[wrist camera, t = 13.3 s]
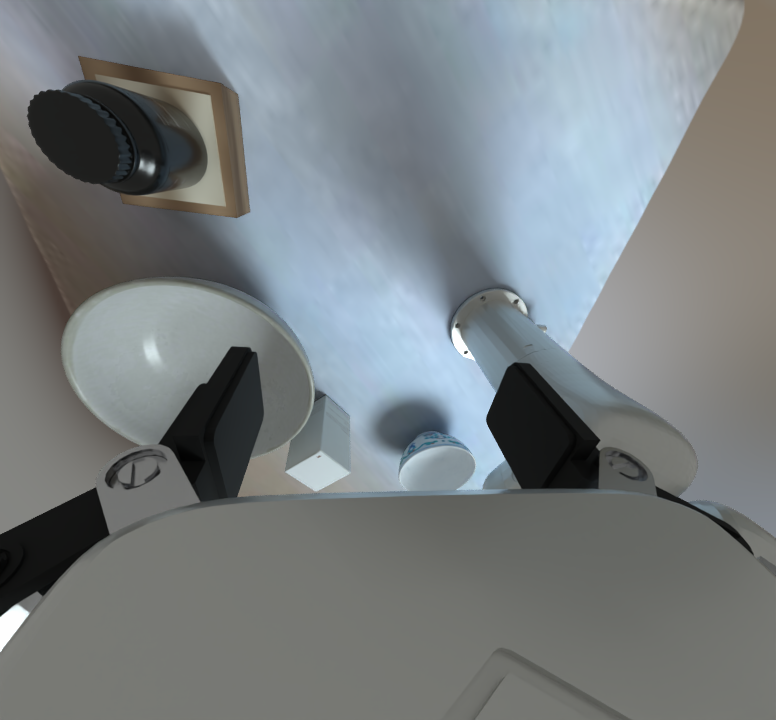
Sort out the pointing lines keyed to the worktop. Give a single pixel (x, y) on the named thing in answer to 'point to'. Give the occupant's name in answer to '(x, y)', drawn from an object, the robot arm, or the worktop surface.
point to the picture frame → (213, 120)
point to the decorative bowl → (180, 356)
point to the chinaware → (435, 463)
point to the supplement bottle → (118, 138)
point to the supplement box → (321, 447)
